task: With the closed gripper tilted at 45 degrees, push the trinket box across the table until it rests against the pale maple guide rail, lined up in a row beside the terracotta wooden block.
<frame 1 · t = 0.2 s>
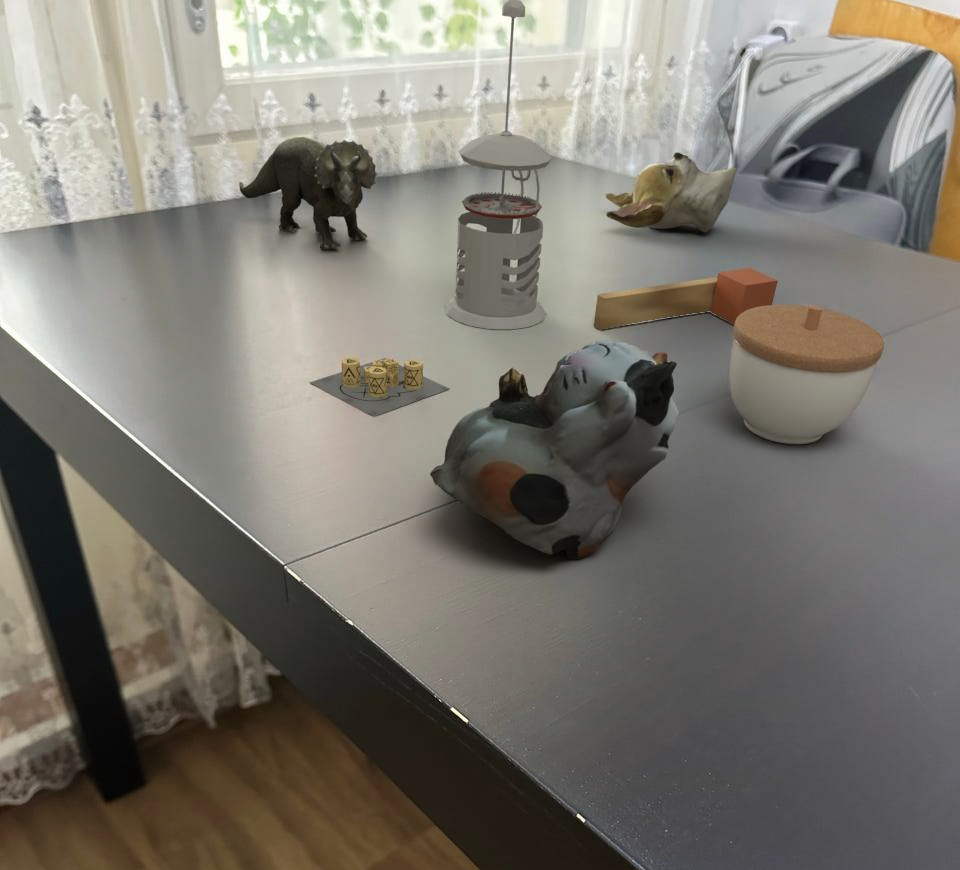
french press: (499, 310, 92), on the table
trinket box: (782, 428, 75), on the table
lucky cat figurine: (543, 512, 63), on the table
ceramic sculpture: (663, 229, 117), on the table
guide rail: (662, 317, 92), on the table
dice set: (379, 387, 77), on the table
toy dinosaur: (318, 239, 107), on the table
terracotta block: (738, 317, 93), on the table
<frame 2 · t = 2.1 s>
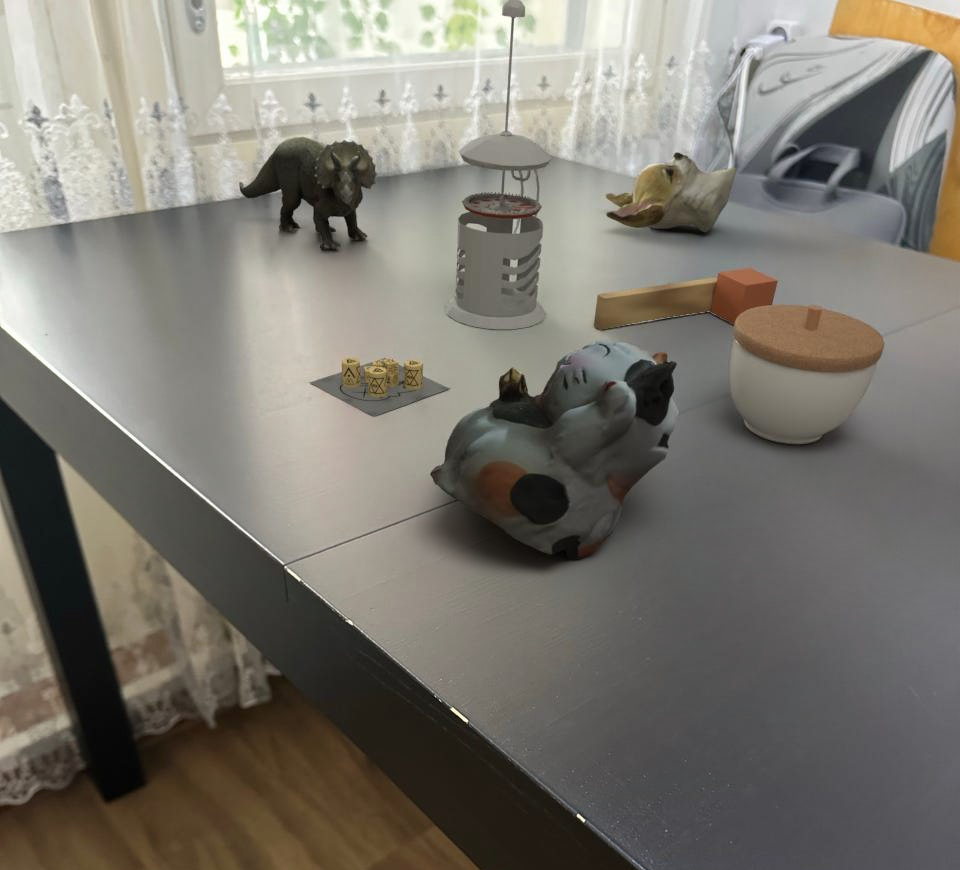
nothing on the table moved.
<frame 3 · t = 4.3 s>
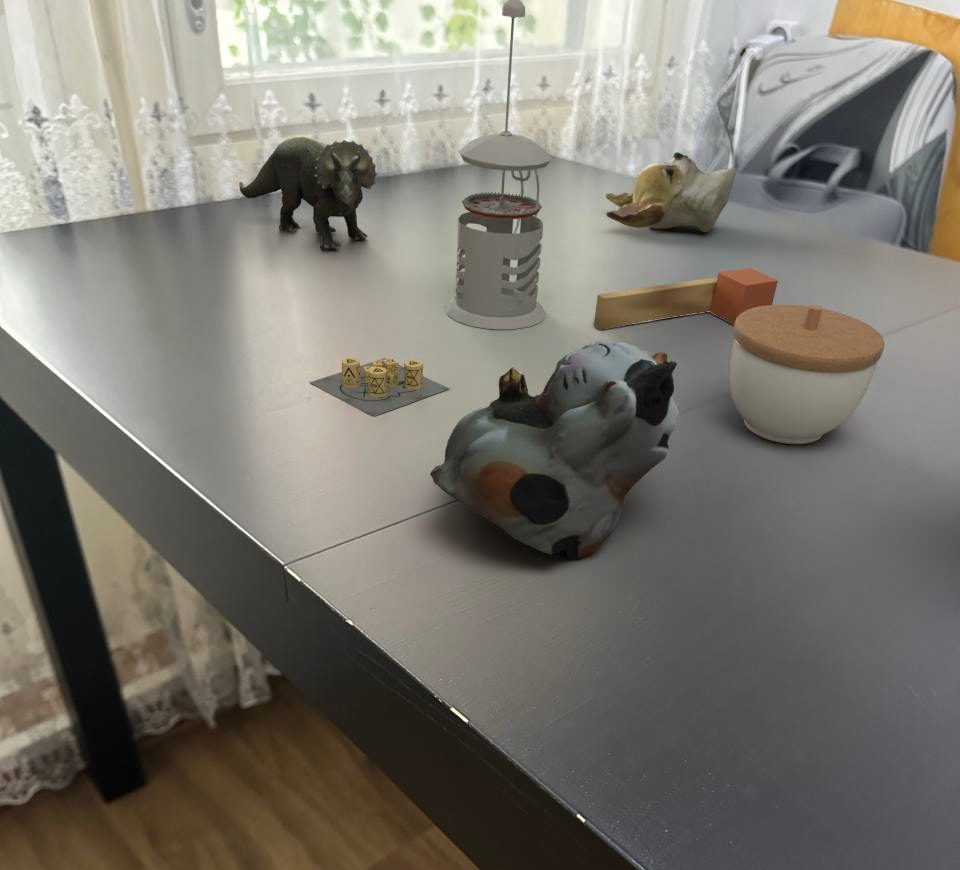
nothing on the table moved.
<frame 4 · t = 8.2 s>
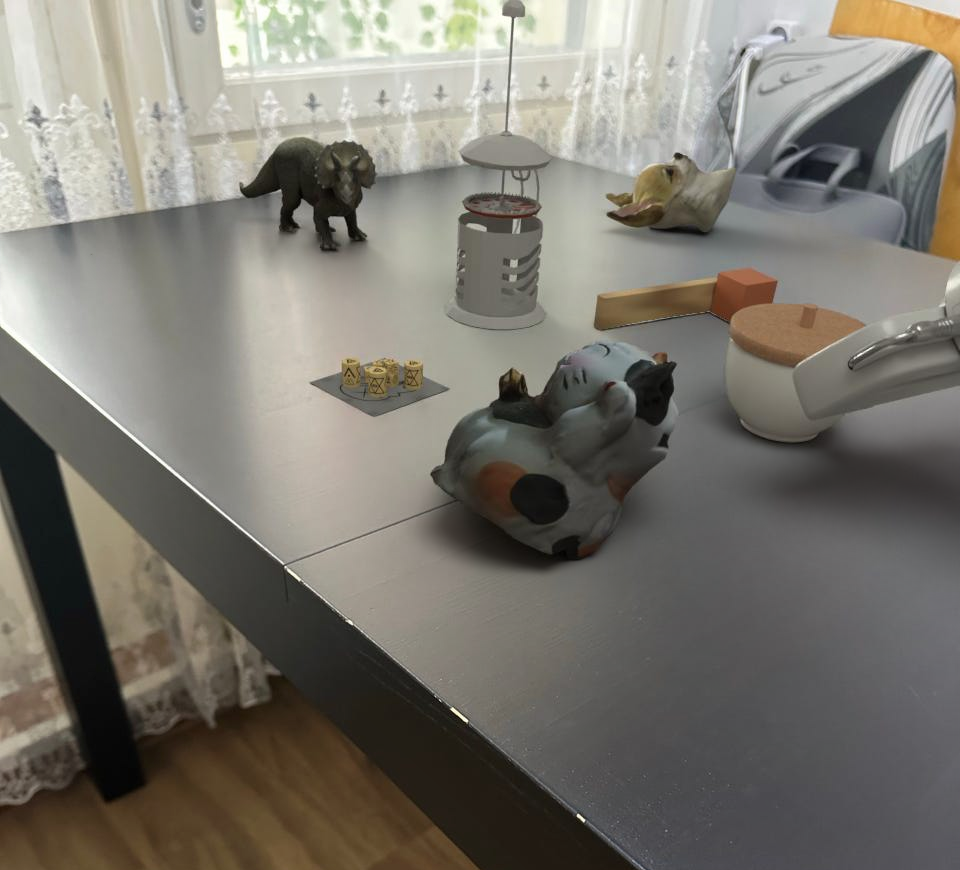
hand: (848, 401, 68), 4 cm above the table, tool tilted 45°, fingers closed, pressing on trinket box
trinket box: (778, 427, 75), on the table, touching gripper
everything else where it was.
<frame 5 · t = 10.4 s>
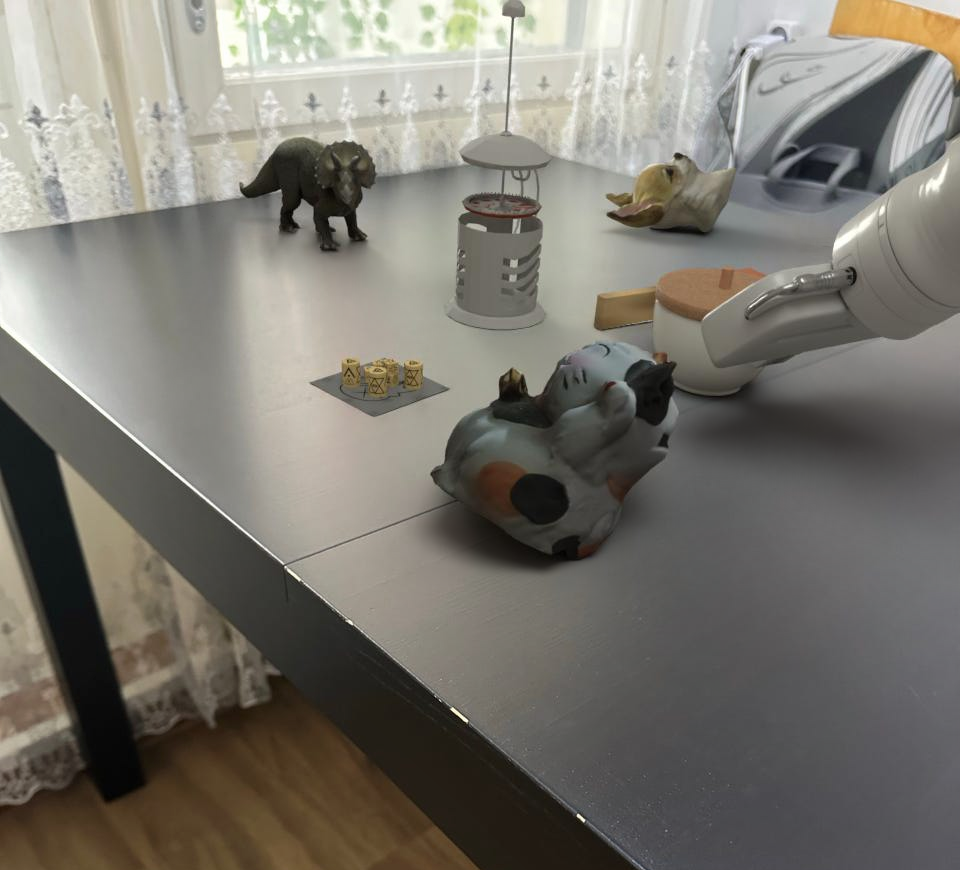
hand: (763, 356, 74), 4 cm above the table, tool tilted 45°, fingers closed, pressing on trinket box
trinket box: (704, 383, 81), on the table, touching gripper
everything else where it was.
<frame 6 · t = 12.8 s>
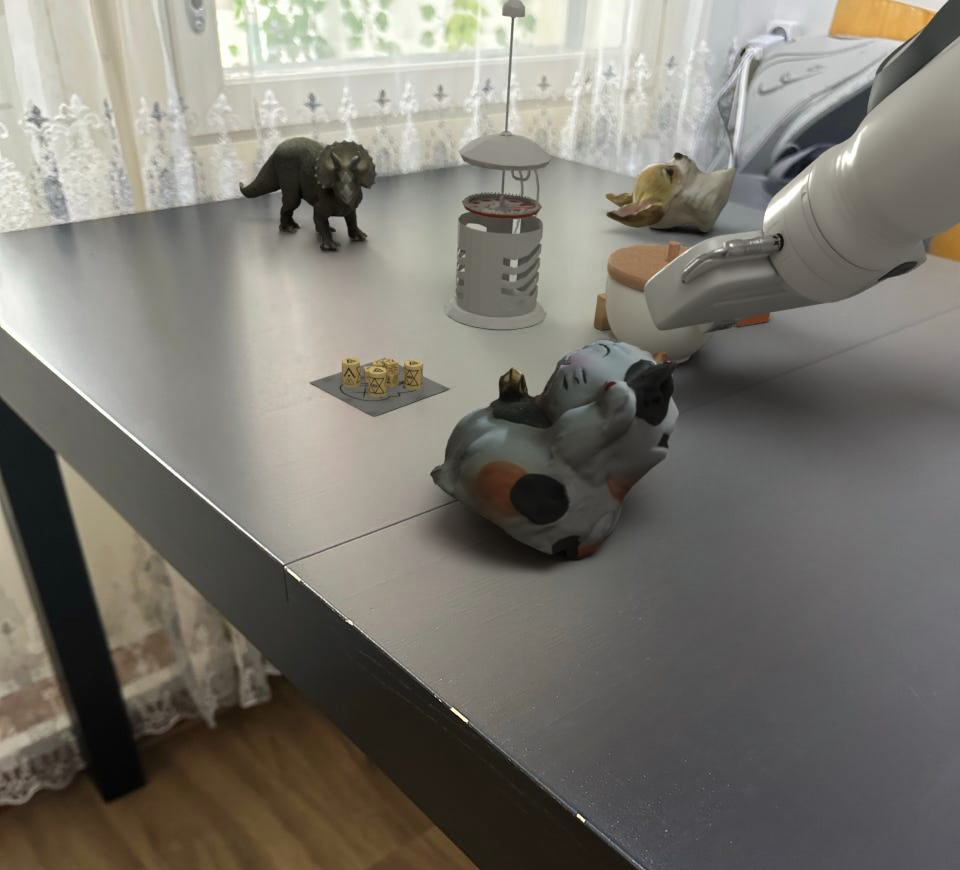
hand: (710, 323, 79), 5 cm above the table, tool tilted 45°, fingers closed
trinket box: (656, 353, 85), on the table
everything else where it was.
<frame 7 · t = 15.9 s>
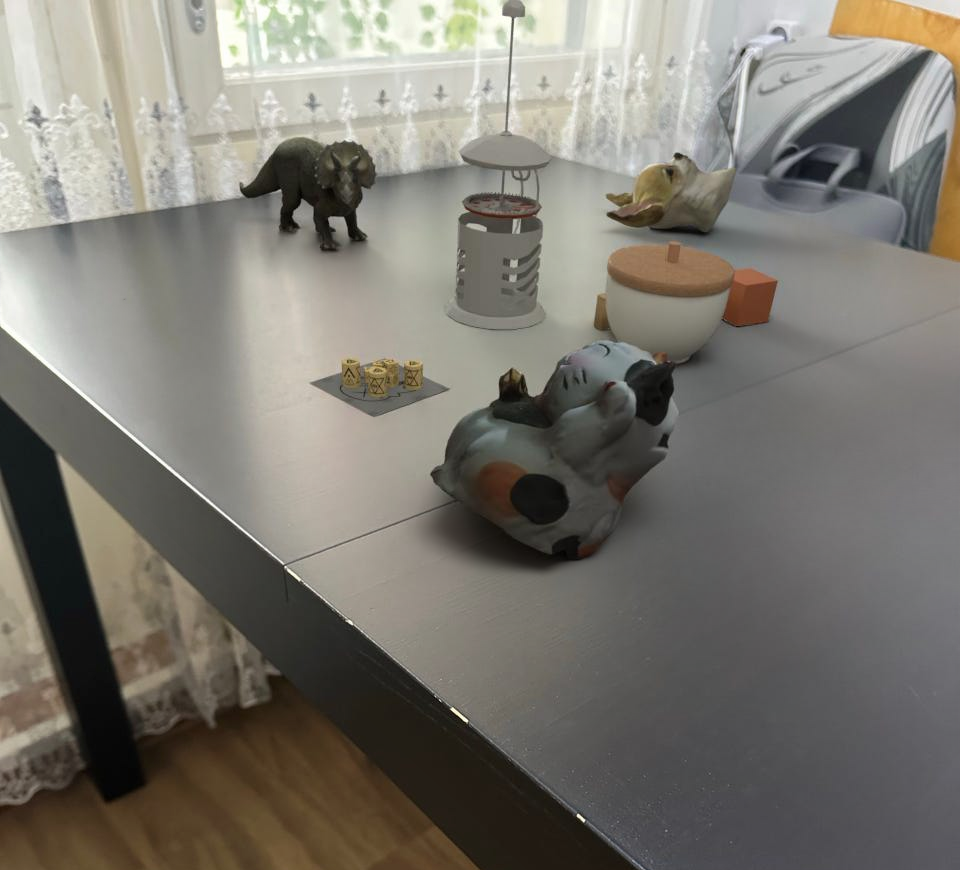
nothing on the table moved.
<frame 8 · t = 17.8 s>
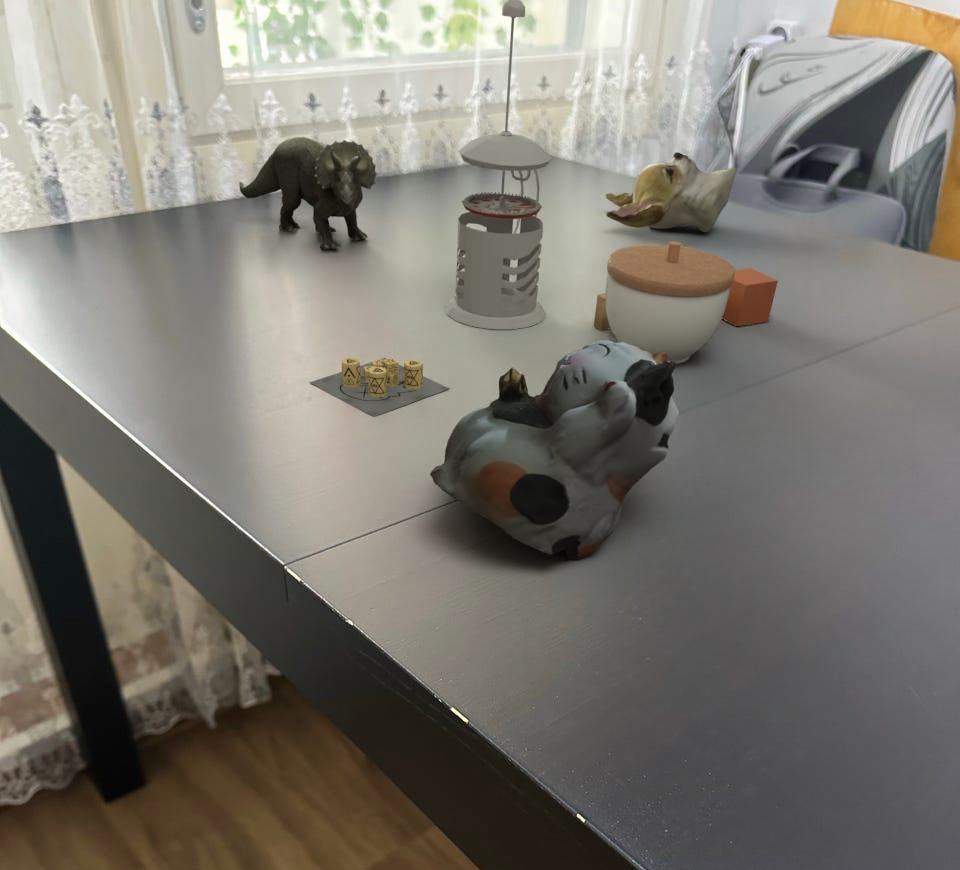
nothing on the table moved.
at the end: trinket box 0.5 cm from the target spot on the table beside the guide rail, on the table; trinket box tilted 0°; terracotta block moved 0.0 cm from its start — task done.
